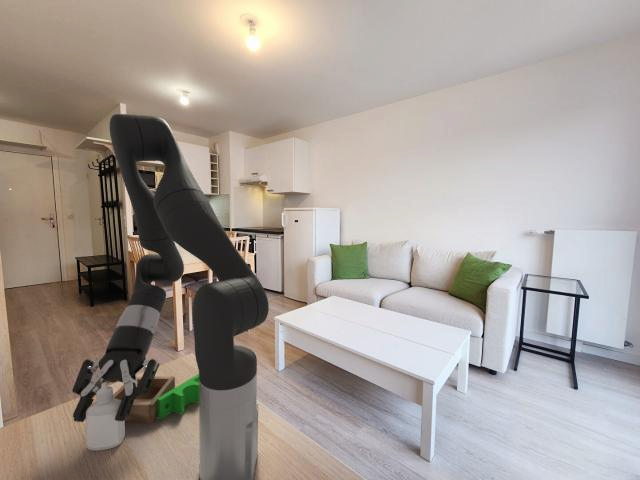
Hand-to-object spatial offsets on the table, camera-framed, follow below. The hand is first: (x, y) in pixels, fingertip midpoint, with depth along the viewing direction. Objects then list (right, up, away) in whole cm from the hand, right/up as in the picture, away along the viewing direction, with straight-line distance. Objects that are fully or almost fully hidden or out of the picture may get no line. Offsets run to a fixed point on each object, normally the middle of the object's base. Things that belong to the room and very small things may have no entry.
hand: (99, 420), depth 50 cm
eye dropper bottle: (0, -6, +2) cm, 6 cm away
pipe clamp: (+9, -5, +13) cm, 17 cm away
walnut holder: (0, -5, +12) cm, 13 cm away
